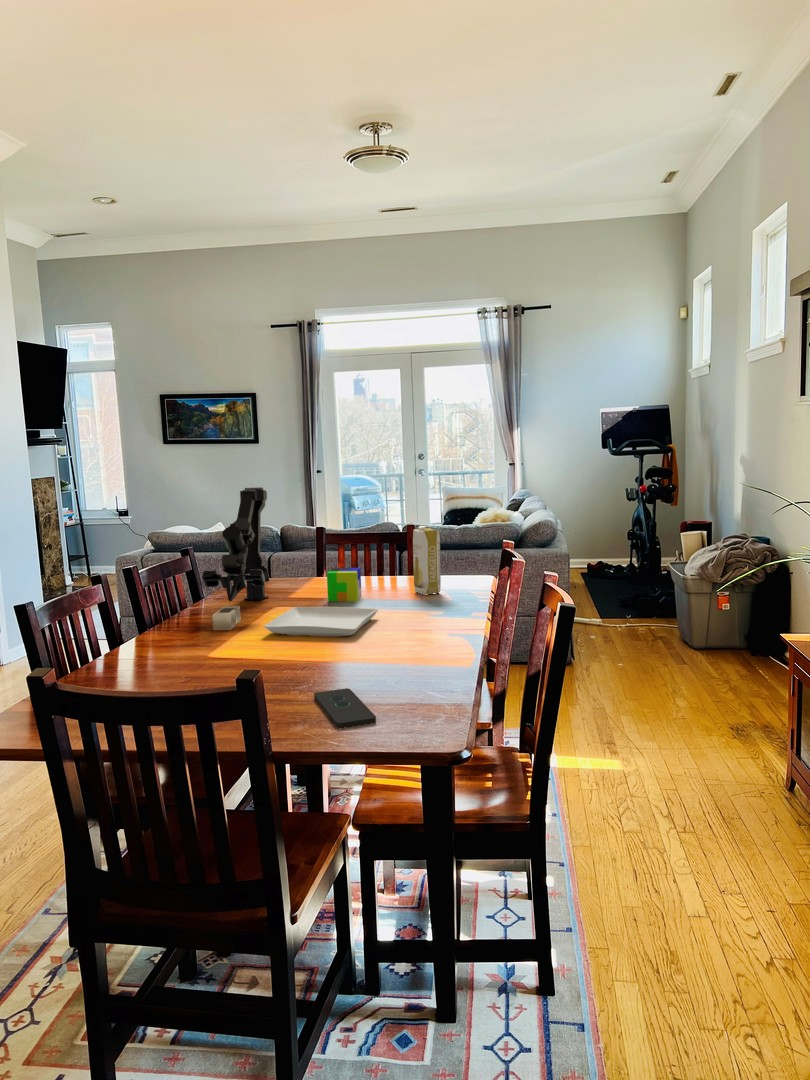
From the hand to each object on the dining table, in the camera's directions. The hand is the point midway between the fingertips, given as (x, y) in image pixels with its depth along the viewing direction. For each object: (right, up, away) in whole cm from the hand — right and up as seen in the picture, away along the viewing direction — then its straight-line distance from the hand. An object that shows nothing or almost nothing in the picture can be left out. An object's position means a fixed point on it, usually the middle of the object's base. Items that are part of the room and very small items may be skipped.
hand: (230, 600), depth 241 cm
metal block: (0, -4, +2) cm, 5 cm away
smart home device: (+41, -17, -80) cm, 91 cm away
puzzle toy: (+33, -2, +33) cm, 46 cm away
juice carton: (+62, -1, +38) cm, 72 cm away
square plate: (+29, -8, -8) cm, 32 cm away
